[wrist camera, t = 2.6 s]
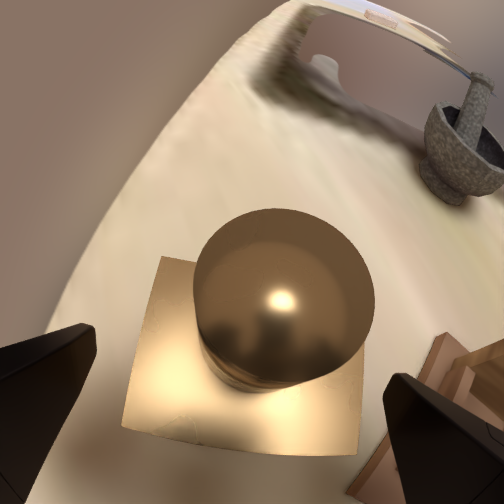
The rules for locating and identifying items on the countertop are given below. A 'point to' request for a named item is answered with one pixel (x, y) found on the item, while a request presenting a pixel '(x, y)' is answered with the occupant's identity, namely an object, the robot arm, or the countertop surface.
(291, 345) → the bronze perfume bottle
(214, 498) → the countertop surface
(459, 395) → the bronze stepped stand
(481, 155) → the mortar and pestle
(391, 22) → the soap
